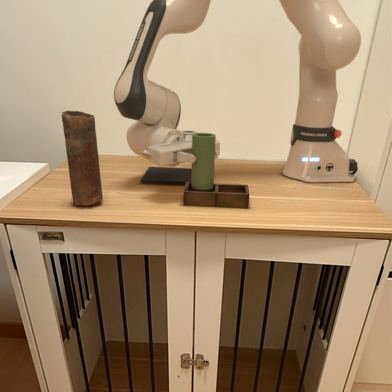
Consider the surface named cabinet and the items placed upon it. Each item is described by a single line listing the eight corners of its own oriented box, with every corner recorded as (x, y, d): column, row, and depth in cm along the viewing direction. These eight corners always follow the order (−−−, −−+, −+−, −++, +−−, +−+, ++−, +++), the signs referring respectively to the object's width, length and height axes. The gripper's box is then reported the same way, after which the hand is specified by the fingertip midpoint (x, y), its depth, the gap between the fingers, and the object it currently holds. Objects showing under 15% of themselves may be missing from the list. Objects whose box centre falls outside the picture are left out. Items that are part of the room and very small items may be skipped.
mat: (211, 172, 131) (211, 169, 130) (209, 186, 118) (210, 182, 117) (149, 169, 131) (149, 166, 131) (141, 183, 118) (140, 179, 118)
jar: (213, 184, 107) (215, 133, 100) (213, 190, 102) (215, 137, 95) (192, 183, 107) (193, 132, 100) (190, 189, 103) (191, 136, 95)
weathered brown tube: (91, 197, 107) (80, 109, 95) (110, 203, 103) (101, 112, 91) (67, 203, 102) (52, 111, 90) (85, 210, 99) (73, 115, 87)
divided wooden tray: (246, 198, 110) (248, 184, 108) (248, 208, 103) (249, 194, 101) (186, 195, 110) (186, 182, 108) (183, 205, 103) (183, 191, 101)
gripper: (137, 138, 100) (172, 148, 92) (198, 130, 111) (235, 138, 103) (138, 166, 104) (173, 177, 96) (198, 155, 115) (233, 164, 107)
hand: (205, 157), depth 100 cm, fingers closed on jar, 5 cm apart
